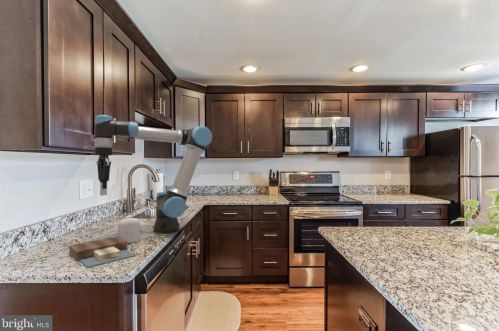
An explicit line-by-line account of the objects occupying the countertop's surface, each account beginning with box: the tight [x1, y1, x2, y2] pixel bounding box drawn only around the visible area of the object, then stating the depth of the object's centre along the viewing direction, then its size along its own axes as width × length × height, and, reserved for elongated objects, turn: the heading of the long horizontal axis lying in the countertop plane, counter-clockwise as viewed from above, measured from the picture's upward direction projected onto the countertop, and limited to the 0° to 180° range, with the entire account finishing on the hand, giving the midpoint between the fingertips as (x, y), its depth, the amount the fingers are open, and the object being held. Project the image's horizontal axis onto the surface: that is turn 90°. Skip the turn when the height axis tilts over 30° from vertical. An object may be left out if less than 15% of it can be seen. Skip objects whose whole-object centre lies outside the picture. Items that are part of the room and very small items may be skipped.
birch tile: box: [94, 247, 120, 262], centre depth 111 cm, size 8×8×2 cm
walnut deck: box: [68, 235, 128, 262], centre depth 118 cm, size 20×12×4 cm, turn 137°
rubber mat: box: [79, 249, 136, 269], centre depth 111 cm, size 18×10×1 cm, turn 137°
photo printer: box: [117, 217, 141, 244], centre depth 133 cm, size 10×4×12 cm, turn 123°
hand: (103, 195), depth 129 cm, fingers closed
